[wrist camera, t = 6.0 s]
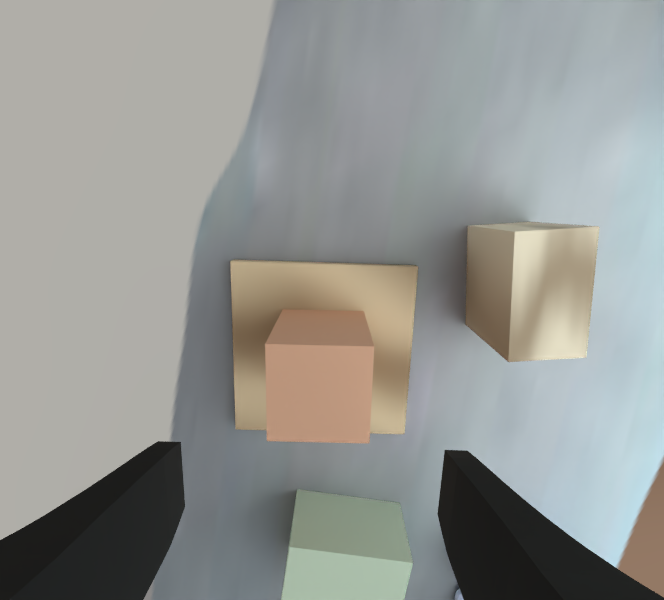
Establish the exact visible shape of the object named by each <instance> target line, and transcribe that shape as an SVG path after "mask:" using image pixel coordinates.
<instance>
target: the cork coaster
mask: <svg viewBox="0 0 664 600" xmlns="http://www.w3.org/2000/svg"><path fill="white" fill-rule="evenodd" d="M230 263H231V295H232V328H233V360H234V393H235V425H236V429H243V430H267V418H266V365H265V343H266V341H267V339H268V337H269V335H270V333H271V331H272V329H273V327H274V326H275V324H276V322H277V320H278V318H279V316H280V314H281V312H282V310H283V309H295V310H338V311H364V313H365V317H366V320H367V323H368V327H369V330H370V334H371V337H372V340H373V344H374V363H373V383H372V403H371V422H370V433H377V434H404V432H405V420H406V408H407V396H408V384H409V372H410V360H411V348H412V336H413V324H414V312H415V300H416V288H417V276H418V267H417V266H416V265H392V264H360V263H328V262H296V261H264V260H232V261H230Z"/></svg>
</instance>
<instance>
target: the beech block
mask: <svg viewBox="0 0 664 600" xmlns="http://www.w3.org/2000/svg"><path fill="white" fill-rule="evenodd" d="M598 236H599V227H598V226H584V225H569V224H555V223H540V222H518V223H502V224H486V225H469V226H468V229H467V276H466V325H467V326H468V327H469V328H470V329H471V330H472V331H474V332H475V333H476V334H477V335H478V336H479V337H480V338H482V339H483V340H484V341H485V342H486V343H487V344H488V345H490V346H491V347H492V348H493V349H494V350H495V351H496V352H498V353H499V354H500V355H501V356H502V357H503V358H504V359H506V360H507V361H508V362H517V361H535V360H553V359H571V358H586V356H587V346H588V336H589V326H590V316H591V306H592V296H593V286H594V276H595V266H596V256H597V246H598Z"/></svg>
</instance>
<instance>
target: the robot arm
mask: <svg viewBox="0 0 664 600" xmlns="http://www.w3.org/2000/svg"><path fill="white" fill-rule="evenodd" d="M184 507H185V500H184V485H183V471H182V456H181V442H159V441H158V442H157V443H155V444H153V445H152V446H150V447H148V448H147V449H145V450H144V451H142V452H141V453H139V454H138V455H136V456H135V457H133V458H132V459H130V460H129V461H128V462H126V463H125V464H123V465H122V466H120V467H119V468H117V469H116V470H115V471H113V472H111V473H110V474H108V475H107V476H105V477H104V478H103V479H101V480H100V481H98V482H97V483H95V484H94V485H92V486H91V487H89V488H88V489H86V490H84V491H83V492H81V493H80V494H78V495H76V496H75V497H73V498H72V499H70V500H68V501H67V502H65V503H64V504H62V505H60V506H59V507H57V508H56V509H54V510H52V511H51V512H49V513H48V514H46V515H45V516H43V517H41V518H40V519H38V520H36V521H34V522H32V523H31V524H29V525H27V526H25V527H24V528H22V529H20V530H18V531H16V532H15V533H13V534H11V535H9V536H7V537H5V538H3V539H2V540H0V600H143V599H144V597H145V595H146V593H147V591H148V589H149V587H150V586H151V584H152V582H153V580H154V578H155V576H156V574H157V572H158V570H159V568H160V566H161V564H162V562H163V560H164V558H165V556H166V554H167V552H168V549H169V547H170V545H171V543H172V540H173V538H174V535H175V532H176V530H177V527H178V524H179V522H180V519H181V516H182V513H183V510H184ZM438 517H439V521H440V526H441V530H442V535H443V539H444V543H445V547H446V551H447V554H448V557H449V560H450V563H451V566H452V569H453V571H454V574H455V577H456V580H457V583H458V585H459V588H460V589H458V590H457V591H456V594H455V600H664V598H663V597H662V596H660V595H658V594H657V593H655V592H654V591H652V590H650V589H649V588H647V587H645V586H644V585H642V584H640V583H639V582H637V581H635V580H634V579H632V578H631V577H629V576H627V575H626V574H624V573H623V572H621V571H620V570H618V569H617V568H615V567H614V566H612V565H611V564H609V563H608V562H606V561H605V560H603V559H602V558H601V557H599V556H598V555H596V554H595V553H593V552H592V551H590V550H589V549H587V548H586V547H584V546H583V545H582V544H580V543H579V542H578V541H576V540H575V539H573V538H572V537H571V536H569V535H568V534H567V533H565V532H564V531H563V530H562V529H560V528H559V527H558V526H556V525H555V524H554V523H552V522H551V521H550V520H548V519H547V518H546V517H545V516H543V515H542V514H541V513H540V512H538V511H537V510H536V509H535V508H533V507H532V506H531V505H530V504H529V503H527V502H526V501H525V500H524V499H523V498H521V497H520V496H519V495H518V494H517V493H516V492H514V491H513V490H512V489H511V488H510V487H509V486H507V485H506V484H505V483H504V482H503V481H502V480H501V479H499V478H498V477H497V476H496V475H495V474H494V473H493V472H492V471H490V470H489V469H488V468H487V467H486V466H485V465H484V464H482V463H481V462H480V461H479V460H478V459H477V458H476V457H474V456H473V455H472V454H471V453H469V452H468V451H458V450H445V454H444V463H443V471H442V480H441V489H440V498H439V507H438Z"/></svg>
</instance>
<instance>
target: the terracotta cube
mask: <svg viewBox="0 0 664 600" xmlns="http://www.w3.org/2000/svg"><path fill="white" fill-rule="evenodd" d="M373 363H374V344H373V340H372V337H371V334H370V330H369V327H368V323H367V320H366V317H365V313H364V311H338V310H295V309H283V310H282V312H281V314H280V316H279V318H278V320H277V322H276V324H275V326H274V327H273V329H272V331H271V333H270V335H269V337H268V339H267V341H266V343H265V365H266V418H267V441H287V442H331V443H369V442H370V422H371V403H372V383H373Z"/></svg>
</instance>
